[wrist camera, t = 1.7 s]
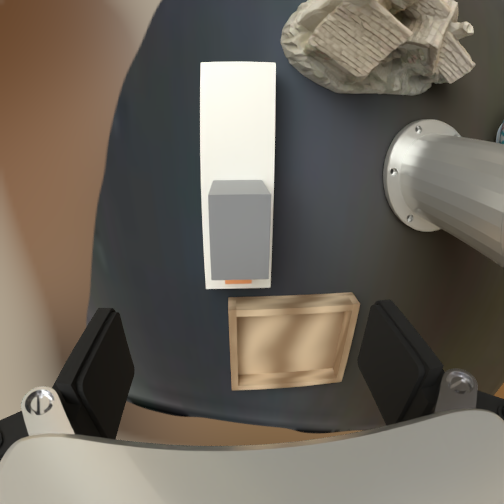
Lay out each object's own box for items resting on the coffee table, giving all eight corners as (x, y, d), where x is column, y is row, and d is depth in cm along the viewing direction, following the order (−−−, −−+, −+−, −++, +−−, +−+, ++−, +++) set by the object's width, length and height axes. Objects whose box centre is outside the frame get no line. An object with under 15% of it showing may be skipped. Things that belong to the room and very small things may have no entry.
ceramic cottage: (256, 35, 23) (304, -40, 9) (357, -38, 20) (436, -94, 6) (366, 147, 29) (472, 174, 15) (444, 63, 25) (543, 59, 12)
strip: (270, 70, 24) (276, 61, 21) (266, 271, 32) (270, 289, 28) (204, 70, 24) (200, 61, 20) (208, 272, 32) (205, 291, 28)
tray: (352, 292, 34) (360, 304, 31) (336, 368, 38) (341, 381, 36) (228, 297, 33) (228, 310, 30) (231, 375, 37) (231, 390, 35)
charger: (259, 175, 27) (271, 194, 19) (258, 238, 29) (268, 279, 22) (214, 176, 27) (208, 194, 19) (216, 238, 29) (211, 280, 21)
